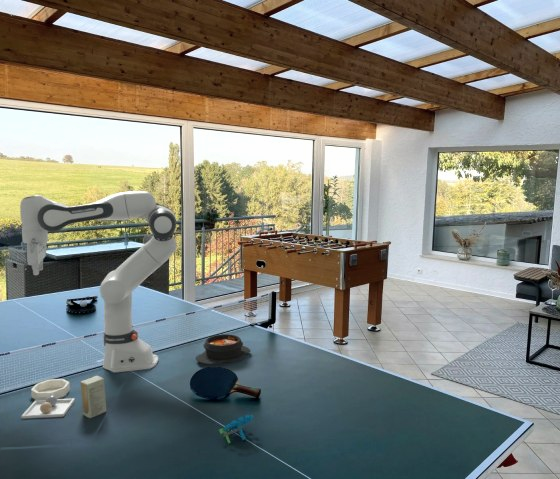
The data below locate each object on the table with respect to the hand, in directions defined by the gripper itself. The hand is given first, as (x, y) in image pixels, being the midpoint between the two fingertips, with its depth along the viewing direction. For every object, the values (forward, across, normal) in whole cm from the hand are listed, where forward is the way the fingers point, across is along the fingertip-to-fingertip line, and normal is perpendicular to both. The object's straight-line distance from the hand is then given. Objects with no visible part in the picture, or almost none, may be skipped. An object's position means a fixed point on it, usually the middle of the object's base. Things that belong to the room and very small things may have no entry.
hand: (38, 272), depth 192 cm
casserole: (+42, -7, -70) cm, 82 cm away
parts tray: (+41, -35, -5) cm, 55 cm away
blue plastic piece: (+42, -71, -62) cm, 103 cm away
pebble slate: (+41, -33, -6) cm, 53 cm away
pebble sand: (+41, -38, -5) cm, 56 cm away
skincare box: (+42, -43, -20) cm, 63 cm away
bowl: (+41, -22, -4) cm, 47 cm away
